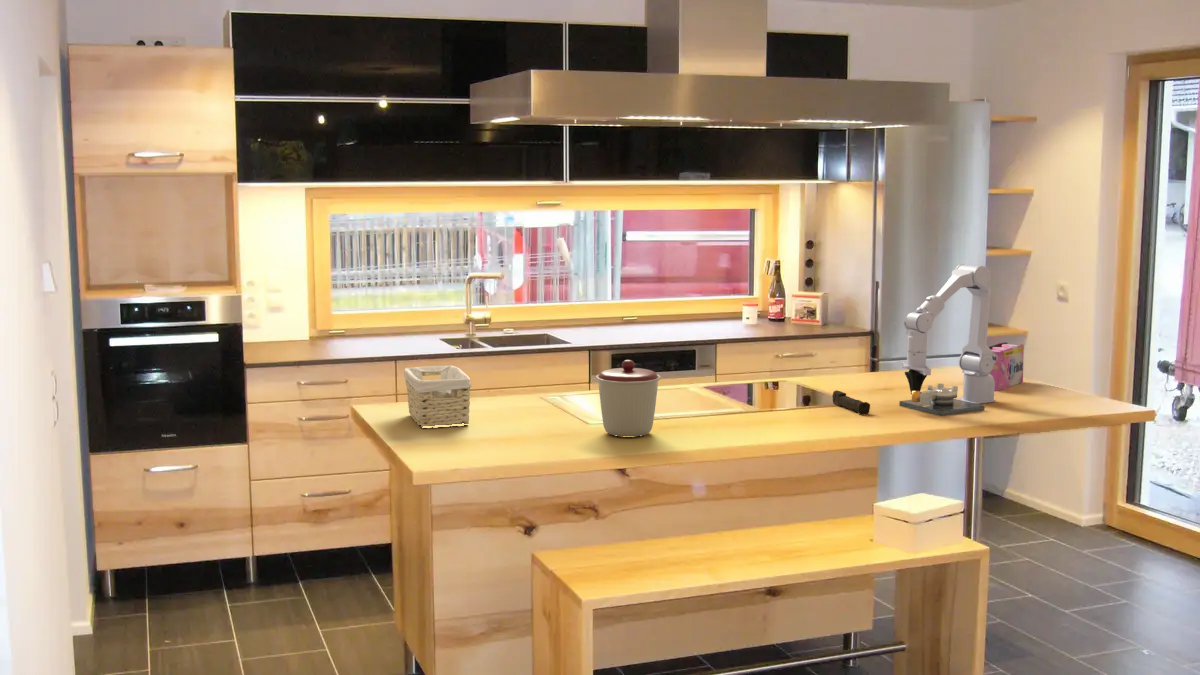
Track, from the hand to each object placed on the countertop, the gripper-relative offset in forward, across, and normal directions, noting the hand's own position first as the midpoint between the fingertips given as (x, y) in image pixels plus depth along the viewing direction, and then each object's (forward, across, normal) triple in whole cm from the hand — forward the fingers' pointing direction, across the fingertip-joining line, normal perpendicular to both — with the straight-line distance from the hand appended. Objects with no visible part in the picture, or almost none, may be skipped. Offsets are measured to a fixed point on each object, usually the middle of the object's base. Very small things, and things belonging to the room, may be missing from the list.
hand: (915, 394), depth 363 cm
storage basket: (+5, -17, -146) cm, 147 cm away
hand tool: (+5, -5, -20) cm, 21 cm away
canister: (+5, +14, -96) cm, 97 cm away
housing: (+4, +1, +8) cm, 10 cm away
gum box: (+5, -30, +48) cm, 57 cm away
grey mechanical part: (+1, +3, +4) cm, 5 cm away
